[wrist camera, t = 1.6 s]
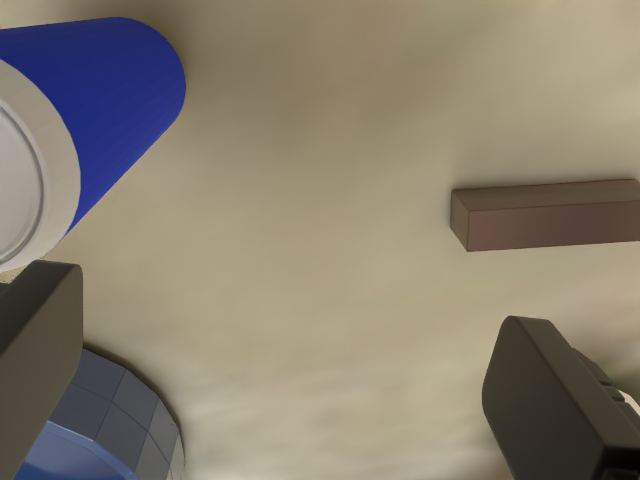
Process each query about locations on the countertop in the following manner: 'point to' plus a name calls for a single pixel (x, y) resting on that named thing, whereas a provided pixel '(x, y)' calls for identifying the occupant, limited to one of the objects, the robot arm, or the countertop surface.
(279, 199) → the countertop surface
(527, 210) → the stick
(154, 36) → the beverage can
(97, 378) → the bowl
